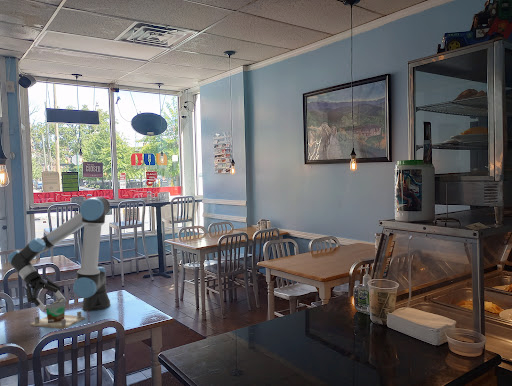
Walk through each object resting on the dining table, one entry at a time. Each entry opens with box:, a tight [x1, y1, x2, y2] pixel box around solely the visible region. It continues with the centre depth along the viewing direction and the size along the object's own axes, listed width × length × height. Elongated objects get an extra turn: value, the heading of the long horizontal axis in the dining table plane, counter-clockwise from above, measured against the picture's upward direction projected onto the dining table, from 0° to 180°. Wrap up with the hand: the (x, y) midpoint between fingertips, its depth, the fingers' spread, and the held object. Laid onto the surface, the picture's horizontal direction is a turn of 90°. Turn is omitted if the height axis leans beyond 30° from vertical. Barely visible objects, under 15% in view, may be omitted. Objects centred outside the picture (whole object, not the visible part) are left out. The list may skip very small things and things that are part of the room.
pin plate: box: [30, 311, 86, 330], centre depth 211 cm, size 15×21×4 cm
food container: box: [44, 298, 67, 323], centre depth 211 cm, size 12×6×10 cm, turn 169°
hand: (54, 305), depth 211 cm, fingers open, 13 cm apart
